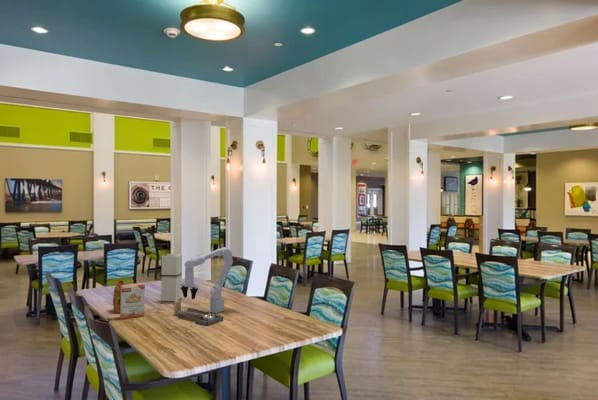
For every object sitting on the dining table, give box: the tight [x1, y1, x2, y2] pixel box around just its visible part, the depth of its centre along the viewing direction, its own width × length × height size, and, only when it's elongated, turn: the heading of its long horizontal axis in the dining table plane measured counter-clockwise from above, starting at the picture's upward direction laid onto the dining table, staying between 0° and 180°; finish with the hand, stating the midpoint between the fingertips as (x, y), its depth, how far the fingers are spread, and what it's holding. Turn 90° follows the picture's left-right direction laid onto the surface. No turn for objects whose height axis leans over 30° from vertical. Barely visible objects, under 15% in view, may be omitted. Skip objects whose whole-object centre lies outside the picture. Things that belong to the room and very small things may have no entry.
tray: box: [194, 313, 224, 327], centre depth 256 cm, size 14×10×2 cm
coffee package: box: [112, 277, 126, 314], centre depth 279 cm, size 10×12×22 cm
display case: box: [160, 253, 183, 305], centre depth 306 cm, size 11×11×35 cm
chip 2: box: [206, 314, 215, 321], centre depth 255 cm, size 4×3×3 cm
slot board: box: [177, 307, 210, 323], centre depth 263 cm, size 10×18×4 cm, turn 57°
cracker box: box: [119, 283, 146, 320], centre depth 266 cm, size 14×6×21 cm, turn 121°
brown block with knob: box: [173, 300, 182, 316], centre depth 271 cm, size 5×3×9 cm, turn 147°
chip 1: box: [202, 313, 211, 321], centre depth 257 cm, size 4×3×3 cm
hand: (189, 298), depth 274 cm, fingers open, 7 cm apart
